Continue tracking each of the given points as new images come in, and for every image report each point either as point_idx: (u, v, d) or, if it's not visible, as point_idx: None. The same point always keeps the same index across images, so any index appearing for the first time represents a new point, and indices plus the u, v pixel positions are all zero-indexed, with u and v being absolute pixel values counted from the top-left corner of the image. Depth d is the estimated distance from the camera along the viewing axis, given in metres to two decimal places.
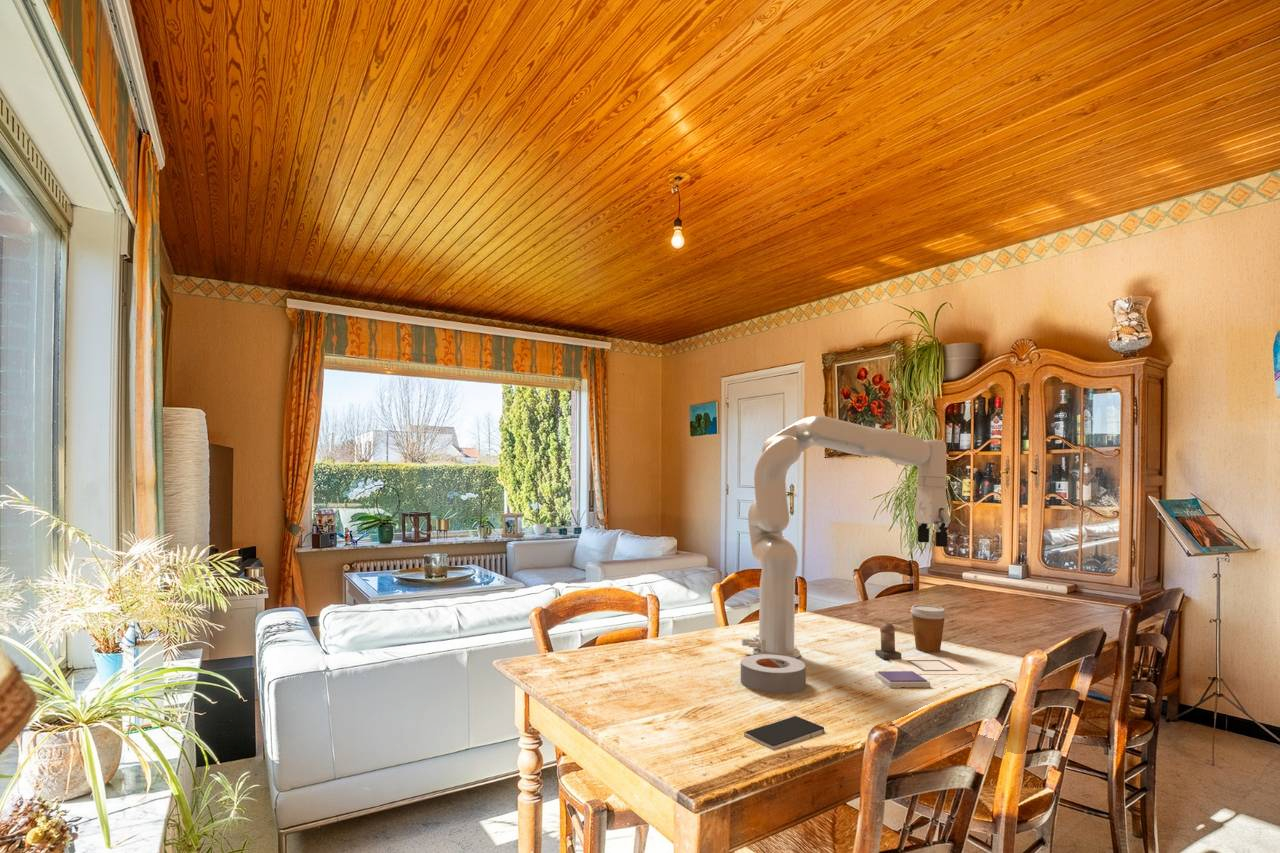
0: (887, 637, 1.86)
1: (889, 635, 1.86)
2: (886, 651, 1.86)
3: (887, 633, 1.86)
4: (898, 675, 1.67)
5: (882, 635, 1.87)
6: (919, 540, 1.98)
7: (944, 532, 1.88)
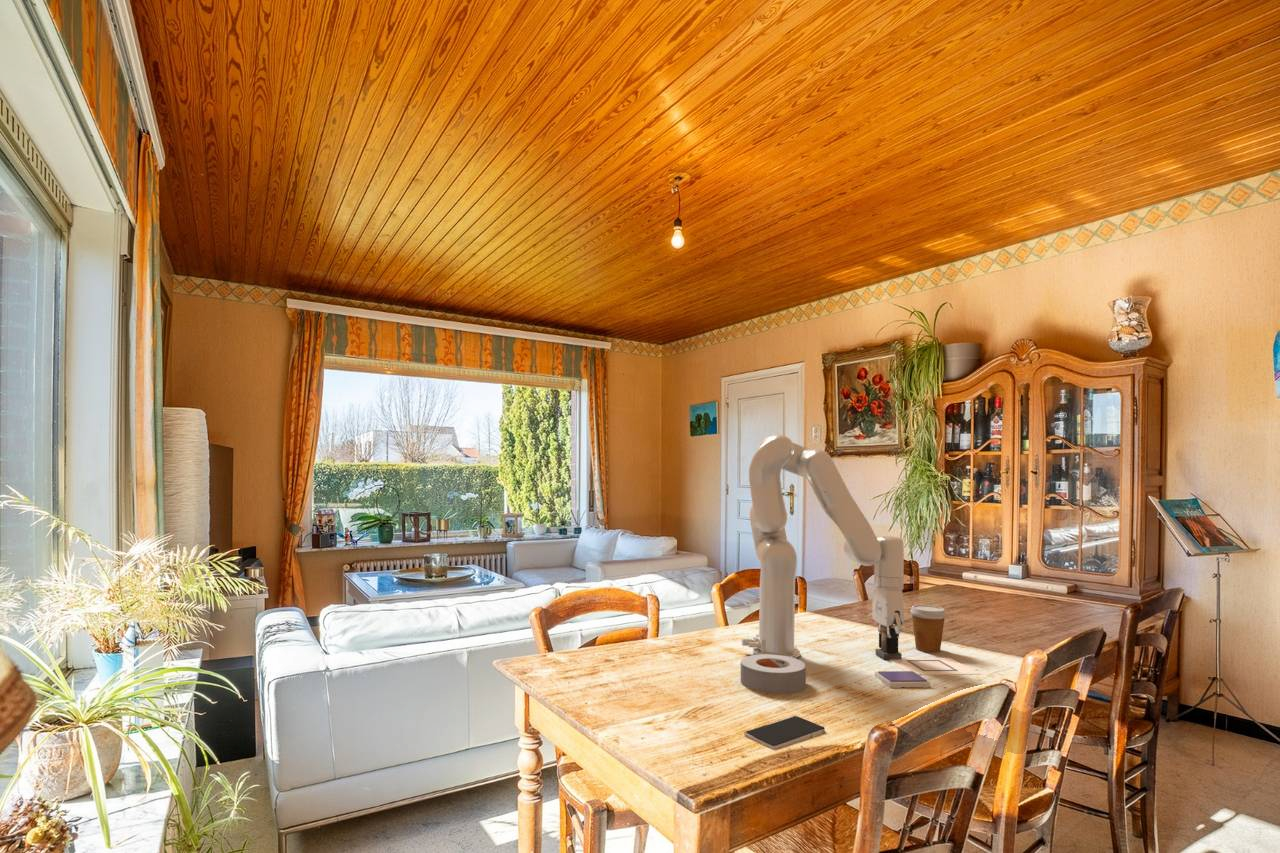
0: None
1: None
2: None
3: None
4: (898, 675, 1.67)
5: (883, 636, 1.86)
6: (880, 646, 1.89)
7: (895, 638, 1.84)
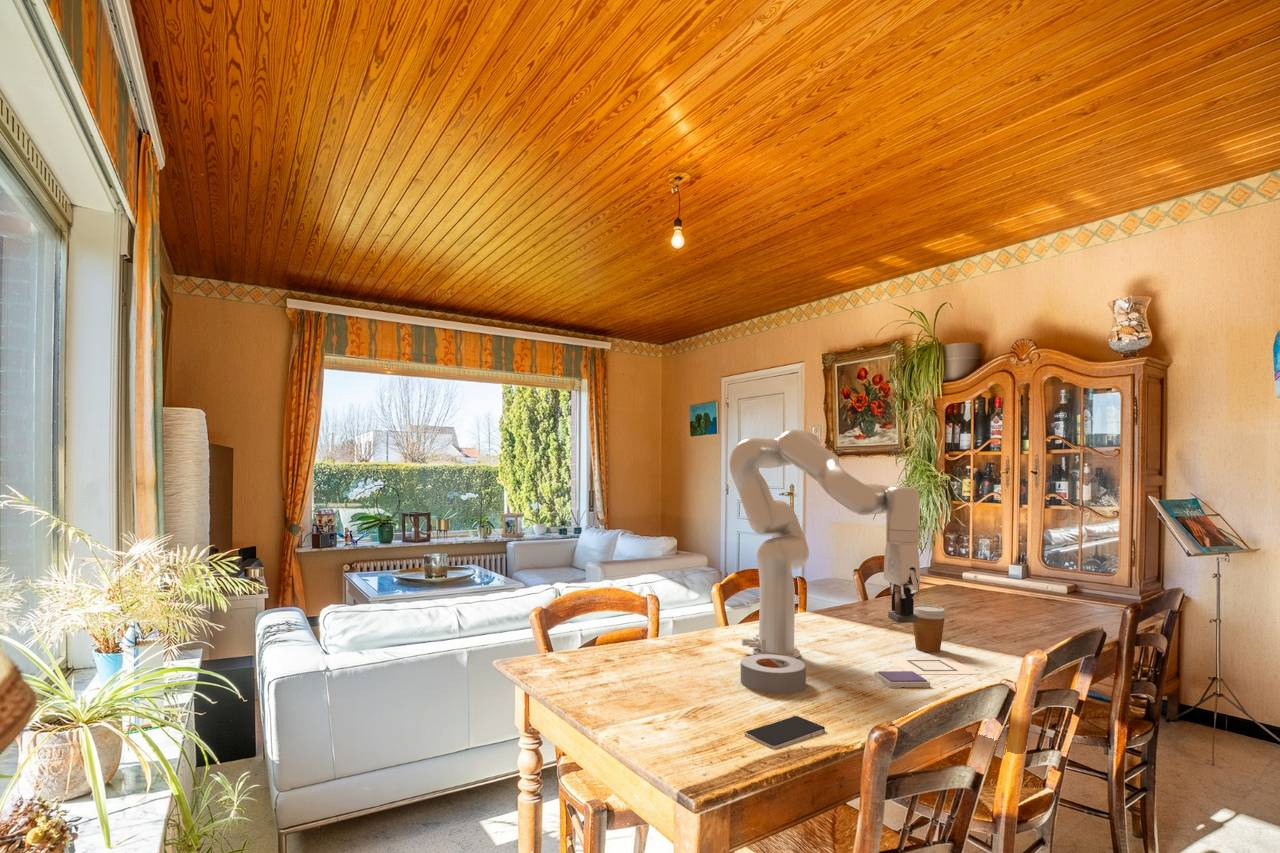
0: None
1: None
2: None
3: None
4: (898, 675, 1.67)
5: (897, 597, 1.67)
6: (893, 609, 1.69)
7: (910, 599, 1.64)
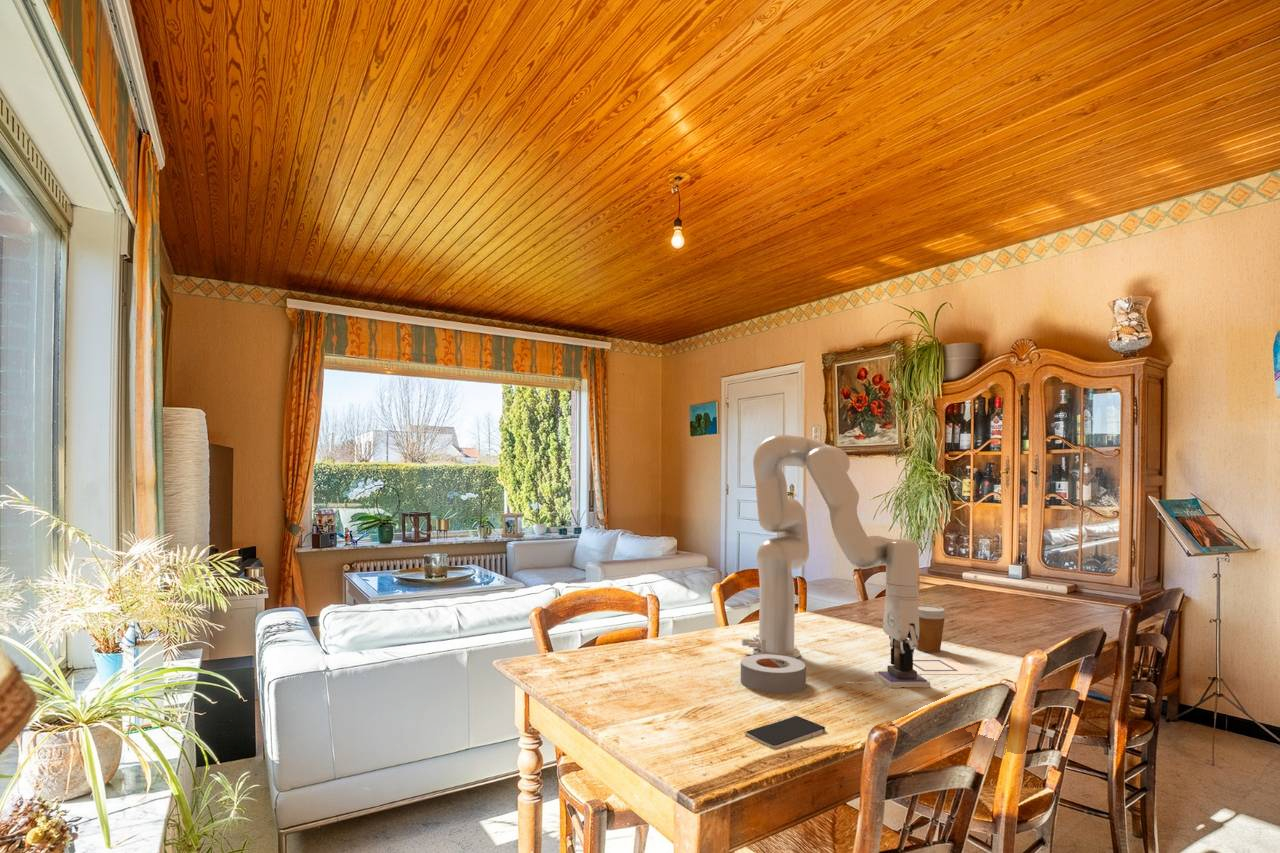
0: None
1: None
2: None
3: None
4: None
5: (897, 651, 1.66)
6: (892, 662, 1.68)
7: (909, 654, 1.64)
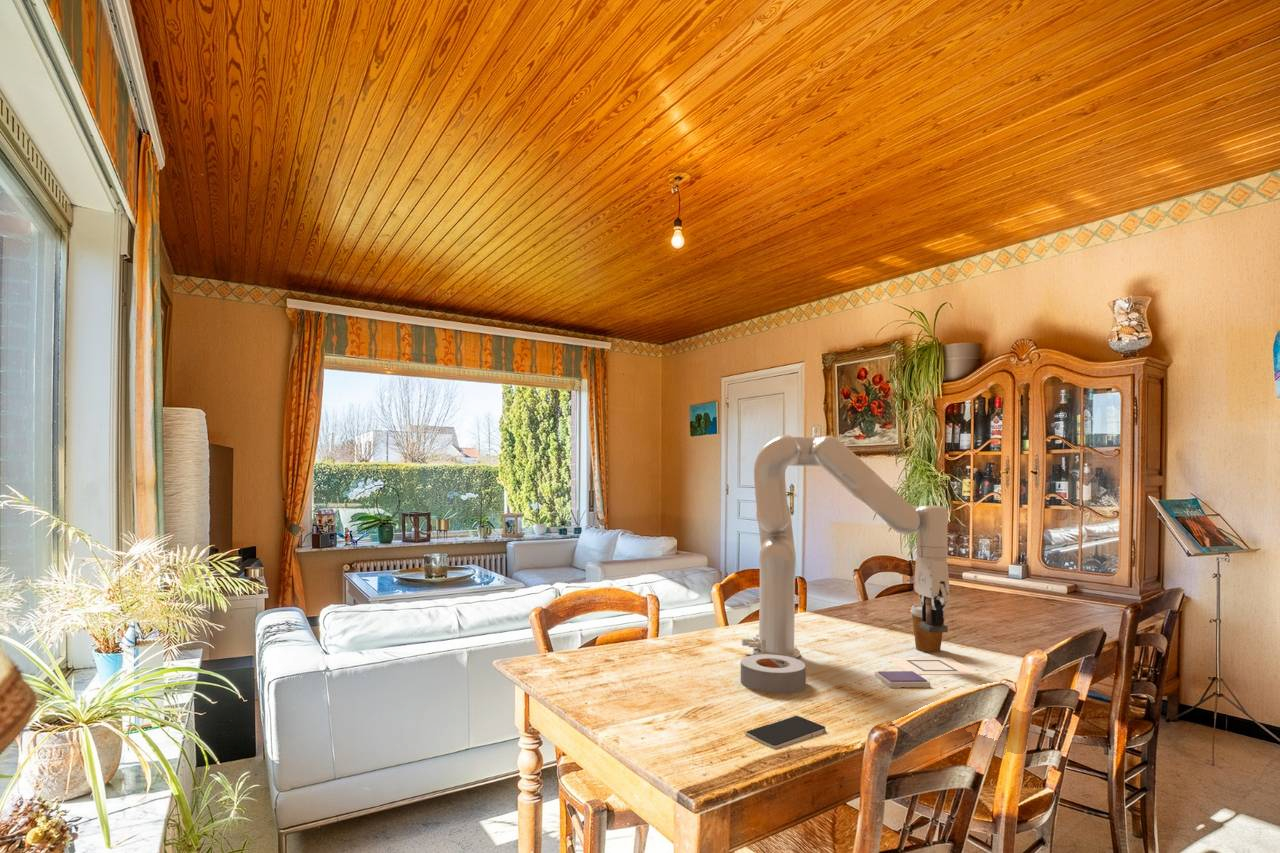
0: None
1: None
2: None
3: None
4: (898, 675, 1.67)
5: (928, 608, 1.80)
6: (924, 619, 1.82)
7: (940, 610, 1.77)
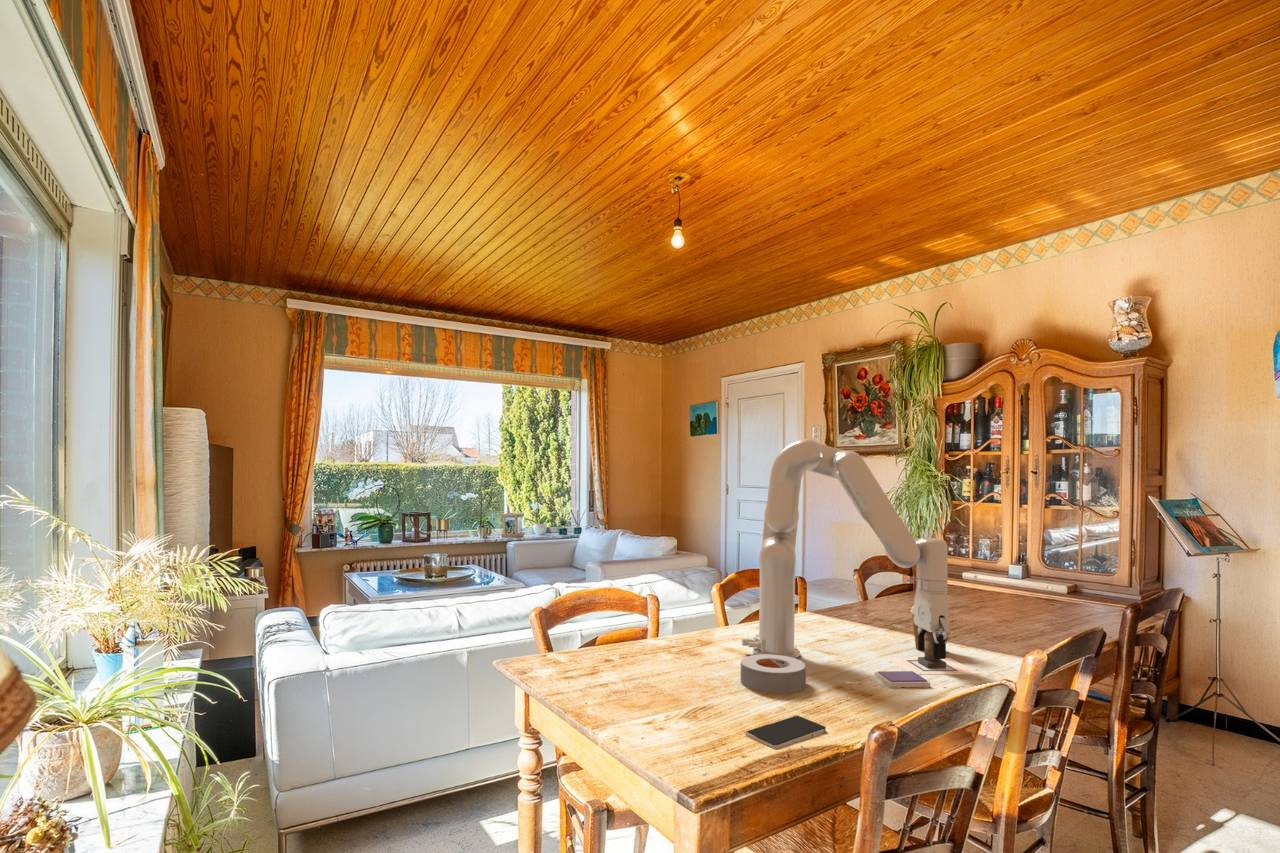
0: (932, 646, 1.78)
1: None
2: (930, 660, 1.78)
3: (932, 642, 1.78)
4: (898, 675, 1.67)
5: (927, 644, 1.79)
6: (920, 648, 1.83)
7: (942, 644, 1.75)
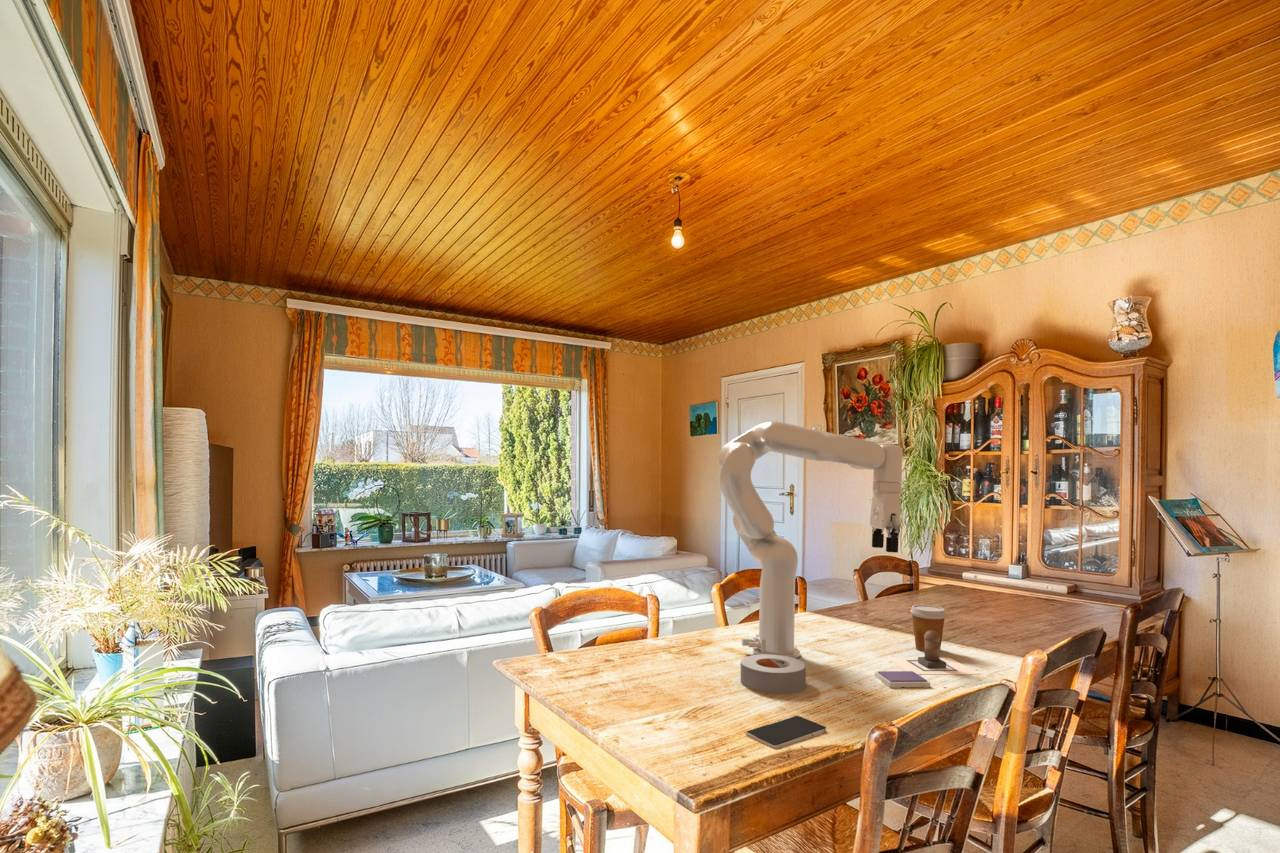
0: (932, 646, 1.78)
1: (934, 644, 1.78)
2: (930, 660, 1.78)
3: (932, 642, 1.78)
4: (898, 675, 1.67)
5: (927, 644, 1.79)
6: (873, 545, 1.97)
7: (895, 538, 1.87)
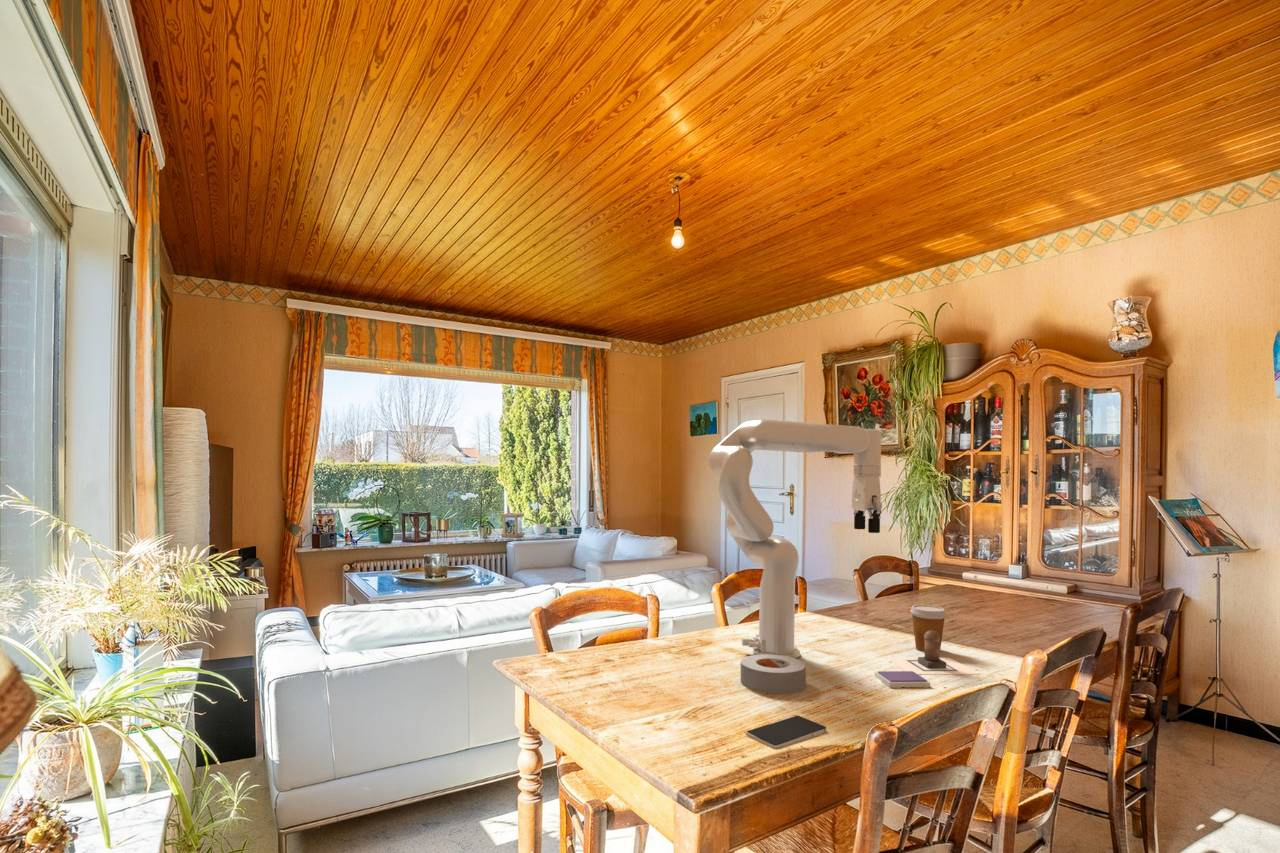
0: (932, 646, 1.78)
1: (934, 644, 1.78)
2: (930, 660, 1.78)
3: (932, 642, 1.78)
4: (898, 675, 1.67)
5: (927, 644, 1.79)
6: (855, 527, 2.03)
7: (876, 519, 1.93)
